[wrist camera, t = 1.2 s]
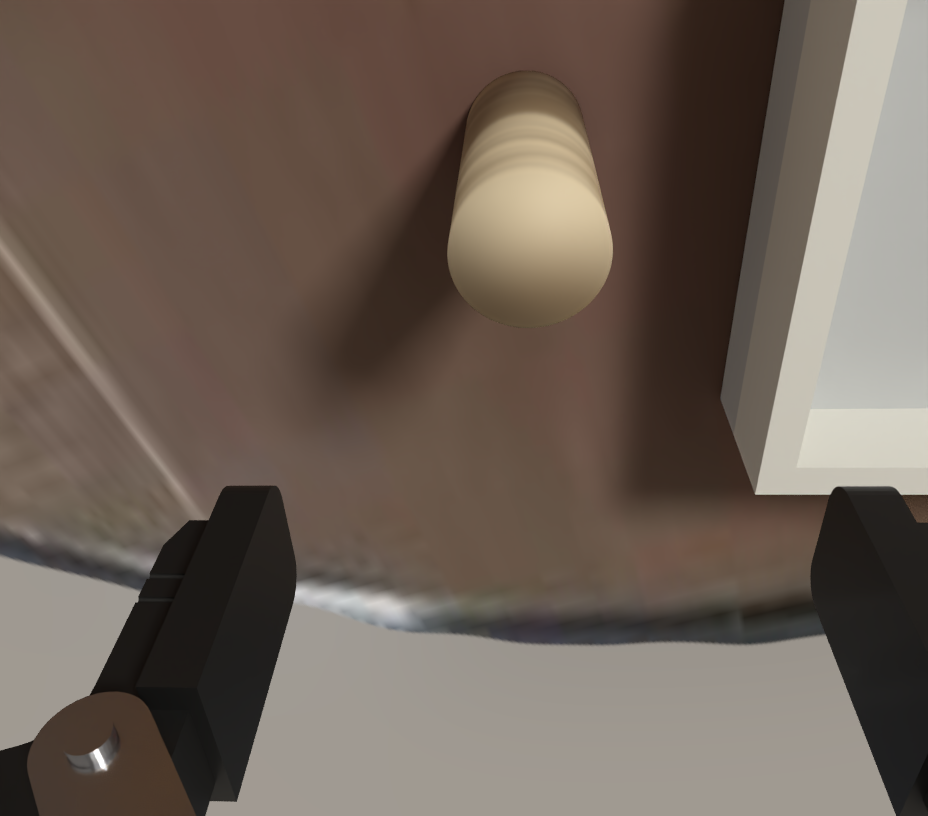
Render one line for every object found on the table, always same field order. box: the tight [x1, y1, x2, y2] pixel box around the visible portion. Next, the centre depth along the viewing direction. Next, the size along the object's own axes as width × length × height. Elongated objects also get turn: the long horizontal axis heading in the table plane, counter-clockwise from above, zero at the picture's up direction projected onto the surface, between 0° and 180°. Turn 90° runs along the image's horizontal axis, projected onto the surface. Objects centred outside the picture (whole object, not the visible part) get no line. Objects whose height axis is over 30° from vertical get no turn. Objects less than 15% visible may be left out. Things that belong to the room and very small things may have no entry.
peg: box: [447, 71, 613, 328], centre depth 24 cm, size 4×4×10 cm
